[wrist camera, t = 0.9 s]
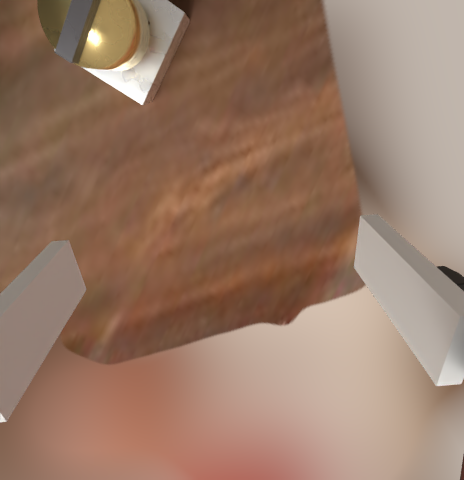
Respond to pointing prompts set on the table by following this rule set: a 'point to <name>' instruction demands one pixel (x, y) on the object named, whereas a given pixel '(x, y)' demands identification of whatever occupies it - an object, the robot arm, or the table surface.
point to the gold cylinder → (96, 32)
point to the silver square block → (150, 53)
